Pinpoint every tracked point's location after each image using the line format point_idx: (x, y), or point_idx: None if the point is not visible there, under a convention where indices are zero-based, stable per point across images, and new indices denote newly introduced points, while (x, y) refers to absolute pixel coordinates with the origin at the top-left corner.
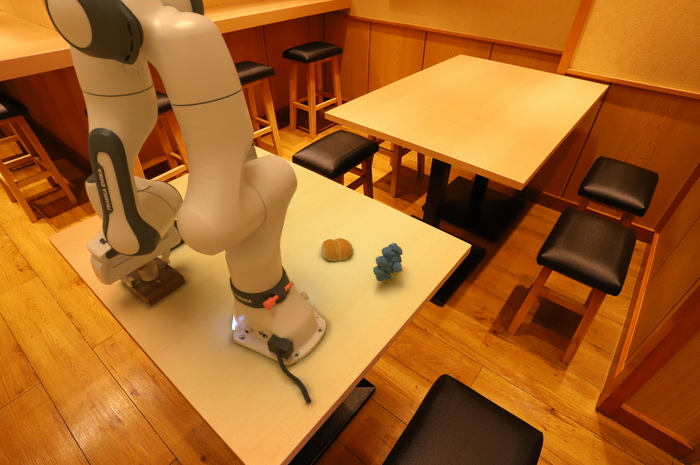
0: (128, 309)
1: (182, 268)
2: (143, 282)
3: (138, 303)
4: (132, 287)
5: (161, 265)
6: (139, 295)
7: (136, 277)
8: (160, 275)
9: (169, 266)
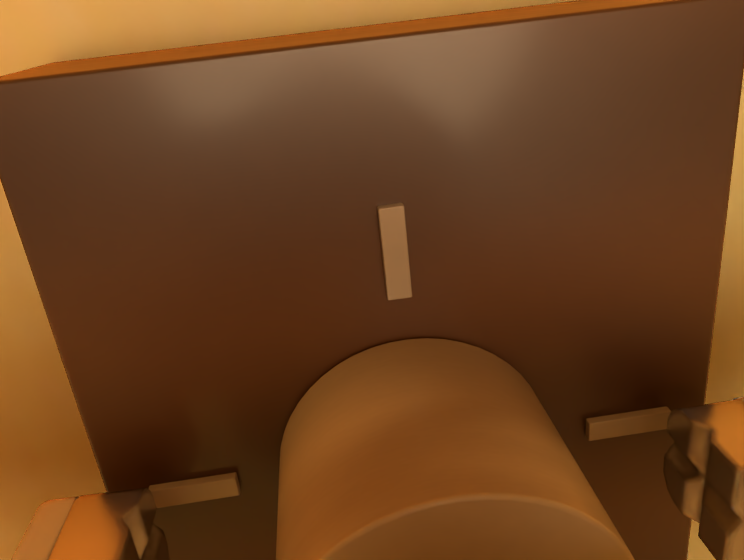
0: (9, 531)
1: (741, 354)
2: (273, 520)
3: None
4: None
5: (636, 369)
6: None
7: (234, 366)
8: None
9: None
